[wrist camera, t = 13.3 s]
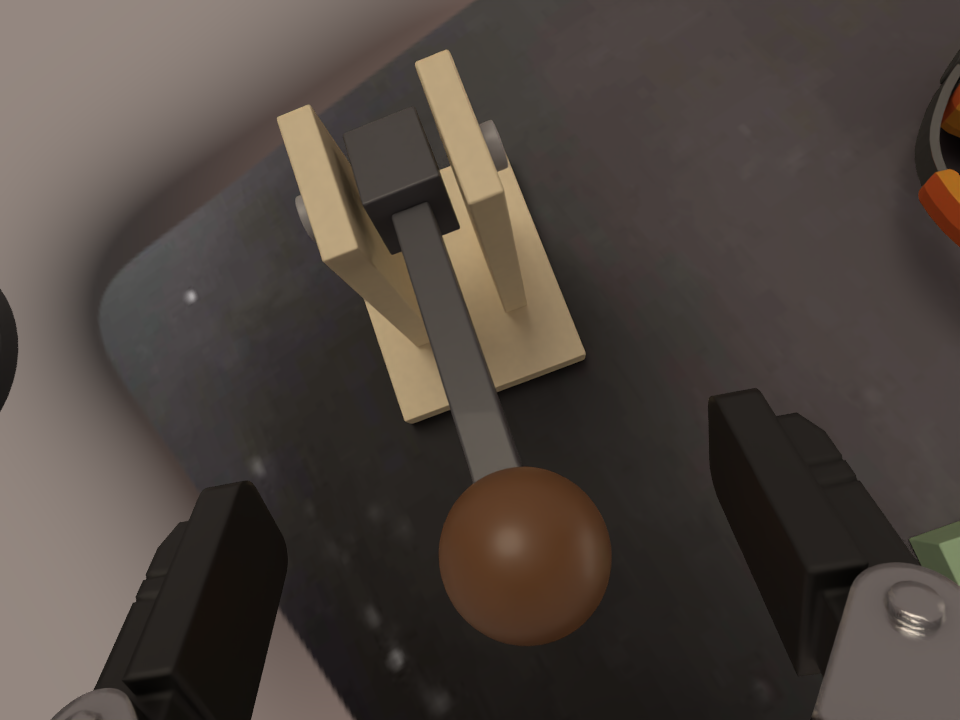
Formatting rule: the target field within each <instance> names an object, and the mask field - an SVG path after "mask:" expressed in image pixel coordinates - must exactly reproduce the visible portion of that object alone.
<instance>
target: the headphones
mask: <svg viewBox="0 0 960 720" xmlns="http://www.w3.org/2000/svg"><path fill="white" fill-rule="evenodd" d="M940 84H942V85H941V86H940V88H939V89H938V91H937V92H936V93H935V95H934V97H933V99H932V100H931V102H930V104H929V106H928V108H927V110H926V113H925V116H924V119H923V121H922V124H921V127H920V129H919V133H918V137H917V141H916V147H915V164H916V170H917V175H918V177H919V180H920V183H921V186H922V188H921V189H920V190H919V195H918V196H919V201H920V202H921V204H922V205H923V207H924V208H925V210H926V211H927V213H928V214H929V216H930V217H931V218H932V219H933V220H934V222H935V223H936V224H937V225H938V226H939V228H940V229H941V230H942V231H943V232H944V233H945V234H946V235H947V236H948V237H949V238H950V239H951V240H952V241H954V242H955V243H956V244H957V245H958V246H959V247H960V175H959V173H957V172H956V171H955V170H951V169H948V170H947V168H946V165H945V162H944V160H943V157H942V153H941V148H940V142H939V138H940V127H941V128H943V129H944V130H945V131H946V132H948V133H950V134H952V135H954V136H957V137H959V138H960V50H959V51H958V53H957V54H956V56H955V57H954V58H953V60H952V61H951V63H950V64H949V66H948V67H947V69H946V71H945V72H944V74H943V76H942V77H941V79H940Z"/></svg>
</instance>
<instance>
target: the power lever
mask: <svg viewBox="0 0 960 720" xmlns="http://www.w3.org/2000/svg"><path fill="white" fill-rule="evenodd" d="M343 139H344V143H345V146H346V150H347V153H348V157H349V160H350V164H351V167H352V171H353V174H354V178H355V181H356V185H357V188H358V192H359V196H360V199H361V203H362V206H363V207H364V209H365V211H366V213H367V214H368V216H369V218H370V219H371V221H372V223H373V225H374V226H375V228H376V230H377V232H378V233H379V235H380V237H381V238H382V240H383V242H384V244H385V245H386V247H387V249H388V251H389V252H390V254H391V255H394V254H397V253H399V252H402V254H403V257H404V260H405V264H406V267H407V270H408V273H409V277H410V280H411V283H412V286H413V290H414V293H415V296H416V299H417V303H418V306H419V309H420V312H421V316H422V319H423V322H424V325H425V329H426V332H427V335H428V338H429V342H430V345H431V348H432V351H433V355H434V358H435V361H436V364H437V368H438V371H439V374H440V377H441V381H442V384H443V387H444V390H445V394H446V397H447V400H448V403H449V407H450V410H451V413H452V416H453V420H454V423H455V426H456V429H457V433H458V436H459V439H460V443H461V446H462V449H463V452H464V456H465V459H466V462H467V465H468V469H469V472H470V475H471V478H472V482H473V484H472V485H471V486H470V487H469V488H468V489H467V490H466V491H465V492H464V493H463V494H462V495H461V496H460V497H459V498H458V500H457V501H456V502H455V503H454V505H453V507H452V508H451V510H450V512H449V514H448V516H447V518H446V521H445V523H444V526H443V529H442V533H441V537H440V543H439V567H440V572H441V577H442V580H443V583H444V586H445V589H446V592H447V594H448V596H449V598H450V600H451V602H452V603H453V605H454V607H455V608H456V610H457V611H458V612H459V613H460V615H461V616H462V617H463V618H464V619H465V620H466V621H467V622H468V623H469V624H470V625H472V626H473V627H474V628H475V629H477V630H478V631H480V632H481V633H483V634H484V635H486V636H488V637H490V638H492V639H494V640H496V641H500V642H503V643H506V644H511V645H517V646H534V645H542V644H547V643H550V642H554V641H556V640H559V639H561V638H563V637H566V636H567V635H569V634H570V633H572V632H574V631H575V630H576V629H578V628H579V627H580V626H581V625H583V624H584V623H585V622H586V621H587V620H588V618H589V617H590V616H591V615H592V614H593V613H594V611H595V610H596V608H597V607H598V605H599V604H600V602H601V600H602V598H603V596H604V593H605V591H606V588H607V585H608V581H609V576H610V572H611V560H612V556H611V544H610V539H609V534H608V531H607V528H606V525H605V522H604V520H603V518H602V516H601V514H600V512H599V511H598V509H597V507H596V506H595V504H594V503H593V501H592V500H591V499H590V498H589V497H588V495H587V494H586V493H585V492H584V491H583V490H581V489H580V488H579V487H578V486H577V485H576V484H574V483H573V482H571V481H570V480H568V479H566V478H565V477H563V476H561V475H559V474H557V473H554V472H551V471H549V470H545V469H541V468H536V467H523V465H522V463H521V460H520V457H519V454H518V451H517V448H516V445H515V443H514V440H513V437H512V434H511V431H510V428H509V425H508V423H507V420H506V417H505V414H504V411H503V408H502V405H501V402H500V400H499V397H498V394H497V391H496V388H495V385H494V382H493V380H492V377H491V374H490V371H489V368H488V365H487V362H486V360H485V357H484V354H483V351H482V348H481V345H480V342H479V340H478V337H477V334H476V331H475V328H474V325H473V322H472V320H471V317H470V314H469V311H468V308H467V305H466V302H465V300H464V297H463V294H462V291H461V288H460V285H459V282H458V280H457V277H456V274H455V271H454V268H453V265H452V262H451V260H450V257H449V254H448V251H447V248H446V245H445V242H444V239H443V237H442V236H443V235H446V234H448V233H451V232H453V231H456V230H459V229H460V225H459V222H458V219H457V216H456V214H455V211H454V208H453V206H452V203H451V200H450V198H449V195H448V192H447V189H446V187H445V184H444V181H443V179H442V176H441V173H440V170H439V168H438V165H437V162H436V160H435V157H434V155H433V152H432V150H431V147H430V144H429V142H428V139H427V137H426V134H425V132H424V129H423V126H422V124H421V121H420V119H419V116H418V114H417V111H416V109H415V107H414V106H412V107H409V108H407V109H404V110H402V111H399V112H397V113H394V114H392V115H389V116H387V117H384V118H382V119H379V120H377V121H374V122H372V123H369V124H367V125H364V126H362V127H359V128H357V129H354V130H352V131H349V132H347V133H344V134H343Z"/></svg>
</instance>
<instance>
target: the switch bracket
mask: <svg viewBox="0 0 960 720" xmlns="http://www.w3.org/2000/svg"><path fill="white" fill-rule="evenodd" d="M415 67H416V70H417V73H418V76H419V78H420V81H421V84H422V87H423V90H424V92H425V95H426V98H427V101H428V104H429V106H430V109H431V112H432V115H433V117H434V120H435V123H436V126H437V129H438V131H439V134H440V137H441V140H442V143H443V145H444V148H445V151H446V154H447V157H448V159H449V162H450V165H451V166H449V167H447V168H444V169H442V170H440V173H441V176H442V179H443V181H444V184H445V187H446V189H447V192H448V195H449V198H450V200H451V203H452V206H453V208H454V211H455V214H456V216H457V219H458V222H459V225H460V229H459V230H456V231H453V232H451V233H448V234H446V235H443V236H442V237H443V239H444V242H445V245H446V248H447V251H448V254H449V257H450V260H451V262H452V265H453V268H454V271H455V274H456V277H457V280H458V282H459V285H460V288H461V291H462V294H463V297H464V300H465V302H466V305H467V308H468V311H469V314H470V317H471V320H472V322H473V325H474V328H475V331H476V334H477V337H478V340H479V342H480V345H481V348H482V351H483V354H484V357H485V360H486V362H487V365H488V368H489V371H490V374H491V377H492V380H493V382H494V385H495V388H496V391H497V392H499V391H502V390H504V389H507V388H510V387H512V386H515V385H518V384H520V383H523V382H526V381H528V380H531V379H534V378H536V377H539V376H542V375H544V374H547V373H550V372H553V371H555V370H558V369H561V368H563V367H566V366H569V365H571V364H574V363H577V362H579V361H582V360H584V359H585V355H586V353H585V350H584V348H583V345H582V343H581V340H580V338H579V335H578V333H577V330H576V328H575V325H574V323H573V320H572V318H571V315H570V313H569V310H568V308H567V305H566V303H565V300H564V298H563V295H562V293H561V290H560V288H559V285H558V283H557V280H556V278H555V275H554V273H553V270H552V268H551V265H550V263H549V260H548V258H547V255H546V253H545V250H544V248H543V245H542V243H541V240H540V238H539V235H538V233H537V230H536V228H535V225H534V223H533V220H532V217H531V215H530V212H529V210H528V207H527V205H526V202H525V200H524V197H523V195H522V192H521V190H520V187H519V185H518V182H517V180H516V177H515V175H514V172H513V170H512V167H511V165H510V162H509V160H508V157H507V155H506V152H505V150H504V147H503V144H502V141H501V139H500V136H499V133H498V131H497V128H496V126H495V124H494V122H493V121H492V120H489V121H486V122H484V123H481V124H478V122H477V119H476V117H475V114H474V112H473V109H472V107H471V104H470V102H469V99H468V97H467V94H466V91H465V89H464V86H463V84H462V81H461V79H460V76H459V74H458V71H457V69H456V66H455V64H454V61H453V58H452V56H451V53H450V52H449V51H448V50H444V51H441V52H439V53H436V54H434V55H431V56H429V57H426V58H424V59H422V60H419V61H417V62H416V63H415ZM277 122H278V125H279V128H280V130H281V134H282V137H283V140H284V143H285V146H286V149H287V153H288V156H289V159H290V162H291V165H292V168H293V171H294V174H295V177H296V180H297V183H298V187H299V190H300V193H301V195H300V196H297V197H296V199H295V202H296V208H297V211H298V214H299V217H300V219H301V222H302V224H303V226H304V228H305V230H306V232H307V233H308V235H309V236H310V238H311V239H312V240H313V241H314V242H317V245H318V248H319V251H320V255H321V258H322V261H323V262H324V263H325V264H326V265H327V266H328V267H330V268H331V269H332V270H333V271H334V272H335V273H336V274H337V275H338V276H340V277H341V278H342V279H343V280H344V281H345V282H346V283H347V284H348V285H349V286H351V287H352V288H353V289H354V290H355V291H356V292H357V293H358V294H359V295H360V296H362V297H363V298H364V300H365V303H366V306H367V309H368V312H369V315H370V318H371V321H372V324H373V327H374V330H375V333H376V337H377V340H378V343H379V346H380V349H381V352H382V355H383V358H384V361H385V364H386V367H387V370H388V373H389V376H390V379H391V382H392V385H393V388H394V391H395V394H396V397H397V400H398V403H399V406H400V409H401V412H402V415H403V418H404V421H405V422H408V423H411V424H413V423H416V422H419V421H421V420H424V419H427V418H429V417H432V416H435V415H437V414H440V413H443V412H445V411H448V410H450V407H449V403H448V400H447V397H446V394H445V390H444V387H443V384H442V381H441V377H440V374H439V371H438V368H437V364H436V361H435V358H434V355H433V351H432V348H431V345H430V342H429V338H428V335H427V332H426V329H425V325H424V322H423V319H422V316H421V312H420V309H419V306H418V303H417V299H416V296H415V293H414V290H413V286H412V283H411V280H410V277H409V273H408V270H407V267H406V264H405V260H404V257H403V254H402V252H399V253H397V254H394V255H391V254H390V252H389V251H388V249H387V247H386V245H385V244H384V242H383V240H382V238H381V237H380V235H379V233H378V232H377V230H376V228H375V226H374V225H373V223H372V221H371V219H370V218H369V216H368V214H367V213H366V211H365V209H364V207H363V206H362V203H361V199H360V196H359V192H358V188H357V185H356V181H355V178H354V174H353V171H352V167H351V165H350V163H349V162H348V160H347V159H346V157H345V156H344V154H343V153H342V151H341V150H340V148H339V147H338V145H337V144H336V142H335V141H334V139H333V138H332V136H331V135H330V133H329V132H328V131H327V129H326V128H325V126H324V125H323V123H322V122H321V120H320V119H319V117H318V116H317V114H316V113H315V111H314V110H313V108H312V107H311V106H310V105H306V106H304V107H301V108H299V109H297V110H294V111H291V112H289V113H286V114H284V115H281V116H279V117H277Z"/></svg>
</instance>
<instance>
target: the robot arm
mask: <svg viewBox="0 0 960 720" xmlns="http://www.w3.org/2000/svg"><path fill="white" fill-rule="evenodd" d="M708 420H709V461H710V471H711V476H712V481H713V485H714V488H715V491H716V494H717V497H718V499H719V502H720V504H721V506H722V508H723V511H724V513H725V515H726V517H727V520H728V522H729V524H730V526H731V528H732V531H733V533H734V535H735V537H736V540H737V542H738V544H739V546H740V549H741V551H742V553H743V555H744V557H745V560H746V562H747V564H748V566H749V569H750V571H751V573H752V575H753V577H754V580H755V582H756V584H757V586H758V589H759V591H760V593H761V595H762V598H763V600H764V602H765V604H766V606H767V609H768V611H769V613H770V615H771V618H772V620H773V622H774V624H775V626H776V629H777V631H778V633H779V635H780V638H781V640H782V642H783V644H784V647H785V649H786V651H787V653H788V655H789V658H790V660H791V662H792V664H793V667H794V669H795V671H796V673H797V675H798V676H805V675H812V674H819V673H821V674H822V676H823V681H822V685H821V688H820V691H819V695H818V698H817V701H816V705H815V708H814V711H813V714H812V717H811V719H810V720H960V586H959V585H958V584H956V583H955V582H954V581H952V580H950V579H949V578H947V577H946V576H944V575H942V574H940V573H938V572H936V571H934V570H931V569H928V568H926V567H922V566H921V565H920V564H919V563H918V561H917V560H916V559H915V558H914V557H913V555H912V554H911V552H910V551H909V550H908V548H907V547H906V545H905V544H904V542H903V541H902V540H901V538H900V537H899V535H898V534H897V533H896V531H895V530H894V528H893V527H892V525H891V524H890V523H889V521H888V520H887V518H886V517H885V516H884V514H883V513H882V511H881V510H880V509H879V507H878V506H877V504H876V503H875V501H874V500H873V499H872V497H871V496H870V494H869V493H868V492H867V490H866V489H865V487H864V486H863V484H862V483H861V482H860V481H857V478H856V475H855V473H854V472H853V470H852V469H851V468H850V466H849V465H848V463H847V462H846V460H843V459H842V455H841V453H840V452H839V451H838V449H837V448H836V446H835V445H834V443H833V442H832V441H831V439H830V438H829V436H828V435H827V434H826V432H825V431H824V430H822V429H821V428H819V427H818V426H816V425H815V424H813V423H812V422H810V421H809V420H807V419H806V418H804V417H803V416H801V415H800V414H798V413H792V414H786V415H781V416H776V415H775V414H774V412H773V411H772V409H771V407H770V406H769V404H768V403H767V401H766V400H765V398H764V396H763V395H762V393H761V392H760V391H759V390H758V389H756V388H753V389H747V390H742V391H736V392H731V393H726V394H720V395H715V396H711V397H710V398H709V402H708ZM287 565H288V556H287V548H286V544H285V540H284V538H283V536H282V534H281V532H280V530H279V528H278V526H277V525H276V523H275V521H274V519H273V517H272V516H271V514H270V512H269V510H268V508H267V507H266V505H265V503H264V501H263V499H262V498H261V496H260V494H259V492H258V491H257V489H256V487H255V486H254V485H253V483H251V482H250V481H241V482H236V483H230V484H225V485H220V486H214V487H209V488H206V489H204V490H203V491H202V492H201V493H200V495H199V498H198V500H197V502H196V505H195V507H194V509H193V512H192V514H191V517H190V519H189V521H186V522H180V523H179V524H178V525H177V526H176V527H175V528H174V530H173V531H172V532H171V533H170V534H169V536H168V537H167V538H166V539H165V540H164V541H163V542H162V544H161V545H160V546H159V547H158V549H157V551H156V553H155V555H154V557H153V560H152V562H151V564H150V566H149V569H148V571H147V573H146V580H143V582H142V584H141V586H140V589H139V591H138V593H137V595H136V602H135V603H133V604H132V606H131V609H130V611H129V613H128V615H127V617H126V620H125V622H124V624H123V626H122V628H121V631H120V633H119V635H118V637H117V640H116V642H115V644H114V646H113V649H112V651H111V653H110V655H109V657H108V660H107V662H106V664H105V666H104V669H103V671H102V673H101V675H100V677H99V680H98V682H97V684H96V686H95V688H94V690H93V691H91V692H89V693H86V694H84V695H82V696H80V697H78V698H77V699H75V700H73V701H72V702H70V703H69V704H68V705H66V706H65V707H64V708H63V709H61V710H60V711H59V712H58V713H57V714H56V715H55V716H54V717H53V718H52V719H51V720H251V717H252V713H253V708H254V705H255V700H256V696H257V692H258V688H259V683H260V680H261V675H262V672H263V668H264V663H265V659H266V655H267V651H268V647H269V643H270V639H271V635H272V630H273V626H274V622H275V618H276V614H277V610H278V606H279V602H280V597H281V593H282V589H283V585H284V581H285V577H286V573H287Z"/></svg>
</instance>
